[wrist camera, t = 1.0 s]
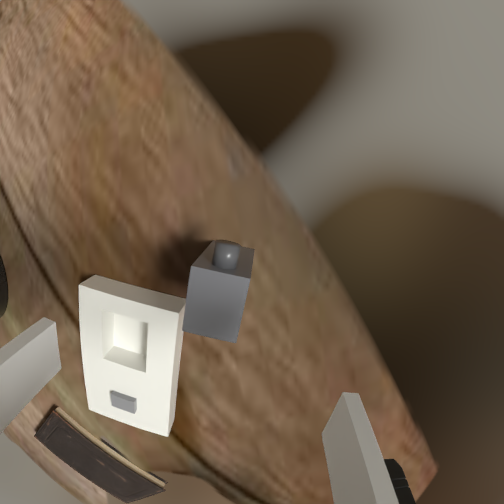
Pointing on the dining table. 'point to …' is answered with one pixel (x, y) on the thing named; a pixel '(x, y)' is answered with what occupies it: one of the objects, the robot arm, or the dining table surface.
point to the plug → (218, 290)
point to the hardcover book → (97, 459)
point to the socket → (131, 352)
